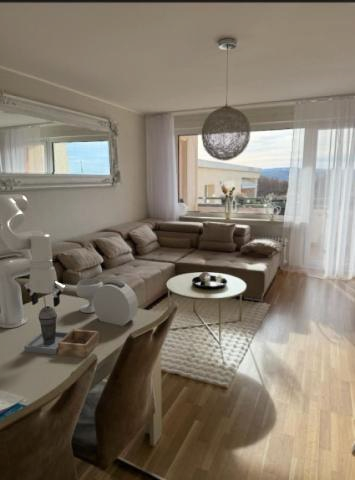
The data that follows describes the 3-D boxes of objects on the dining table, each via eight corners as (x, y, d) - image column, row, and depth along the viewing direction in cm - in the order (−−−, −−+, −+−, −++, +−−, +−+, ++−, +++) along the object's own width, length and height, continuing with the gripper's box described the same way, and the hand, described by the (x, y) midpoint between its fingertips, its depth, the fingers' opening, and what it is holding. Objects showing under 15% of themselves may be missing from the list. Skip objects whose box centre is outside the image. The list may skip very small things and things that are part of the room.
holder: (58, 354, 132) (57, 343, 131) (73, 340, 143) (72, 329, 142) (87, 357, 130) (86, 345, 129) (99, 342, 141) (99, 331, 140)
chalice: (72, 312, 172) (69, 284, 170) (88, 302, 185) (86, 276, 182) (95, 315, 168) (93, 287, 165) (109, 305, 181) (108, 279, 178)
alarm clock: (138, 320, 161) (137, 281, 158) (130, 327, 155) (128, 286, 151) (103, 313, 170) (101, 276, 166) (93, 319, 164) (91, 280, 160)
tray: (24, 351, 135) (24, 346, 134) (44, 335, 148) (43, 330, 148) (56, 354, 132) (55, 349, 132) (73, 337, 146) (73, 332, 145)
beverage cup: (52, 347, 136) (49, 300, 132) (36, 345, 137) (33, 299, 134) (62, 339, 143) (59, 294, 139) (46, 337, 144) (43, 293, 141)
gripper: (17, 265, 131) (21, 306, 135) (57, 268, 128) (60, 309, 132) (28, 260, 138) (32, 299, 142) (67, 263, 135) (69, 302, 139)
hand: (45, 304), depth 137 cm, fingers open, 9 cm apart
